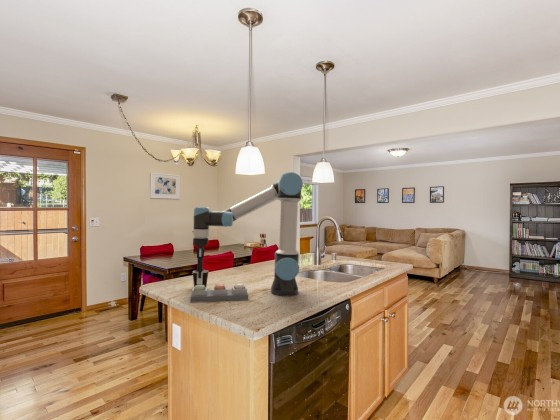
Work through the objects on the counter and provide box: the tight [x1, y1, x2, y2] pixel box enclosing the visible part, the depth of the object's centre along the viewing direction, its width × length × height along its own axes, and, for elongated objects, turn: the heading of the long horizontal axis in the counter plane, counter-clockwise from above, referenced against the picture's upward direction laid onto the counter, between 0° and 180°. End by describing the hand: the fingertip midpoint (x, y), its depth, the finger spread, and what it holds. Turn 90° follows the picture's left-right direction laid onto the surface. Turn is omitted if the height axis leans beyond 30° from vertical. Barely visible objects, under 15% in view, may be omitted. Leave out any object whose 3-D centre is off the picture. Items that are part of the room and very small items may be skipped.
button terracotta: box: [214, 283, 226, 290], centre depth 159 cm, size 5×5×2 cm
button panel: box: [190, 285, 249, 303], centre depth 159 cm, size 28×12×5 cm, turn 103°
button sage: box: [195, 285, 205, 291], centre depth 157 cm, size 5×5×2 cm
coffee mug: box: [192, 269, 209, 287], centre depth 175 cm, size 12×9×10 cm
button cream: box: [234, 283, 245, 289], centre depth 161 cm, size 5×5×2 cm
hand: (199, 284), depth 157 cm, fingers closed
